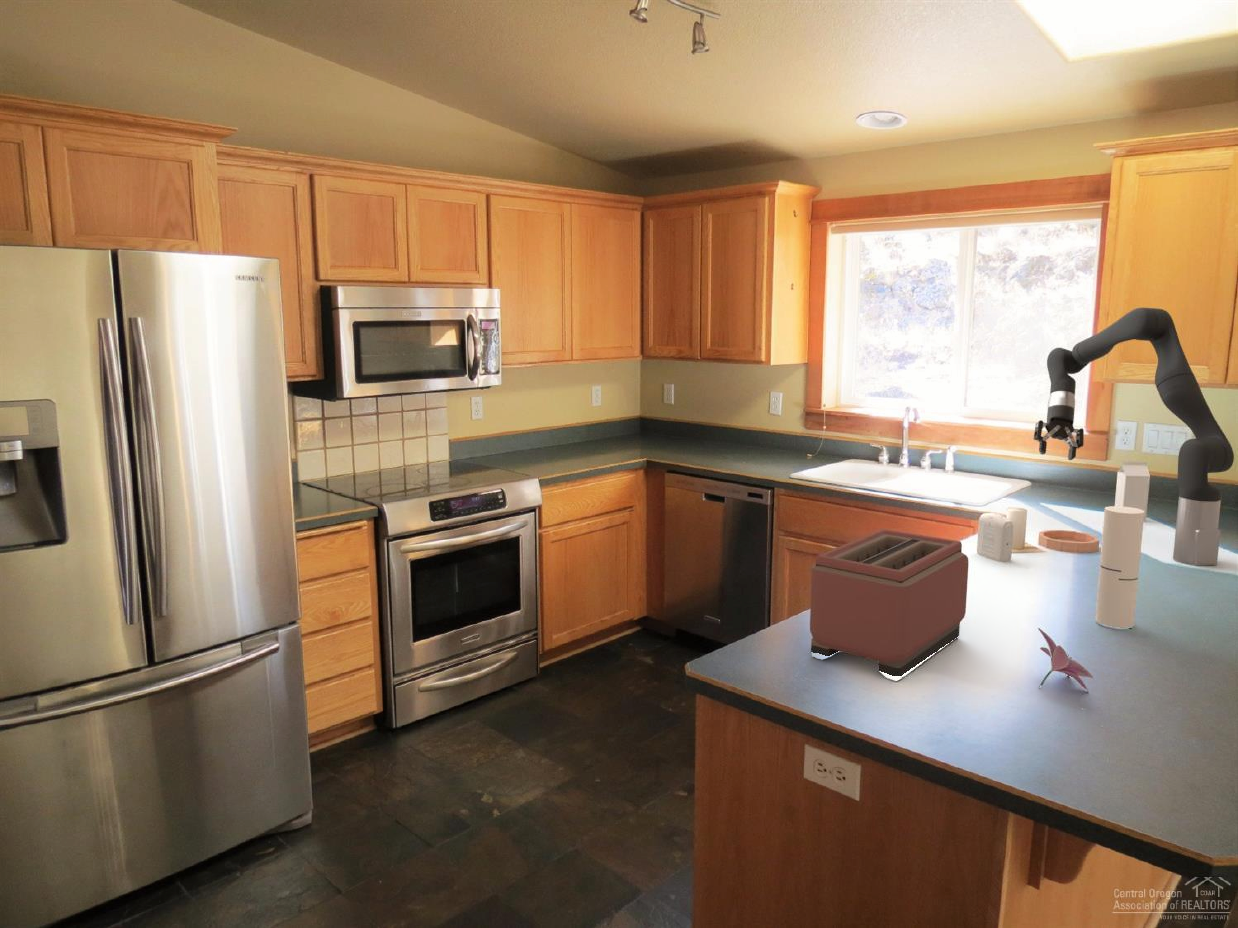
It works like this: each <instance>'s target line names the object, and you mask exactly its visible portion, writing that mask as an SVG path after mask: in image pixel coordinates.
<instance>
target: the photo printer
mask: <svg viewBox="0 0 1238 928" xmlns="http://www.w3.org/2000/svg"><path fill="white" fill-rule="evenodd" d="M977 527H978V528H977V529H978V530H977V531H978V532H977V542H976V544H977V546H976V553H977V554H978V555H980V556H982V557H986V558H988V559H990V558H991V560H993V561H997V562H1000V563H1007V562H1008V563H1009V562H1010V561H1011V560H1012V554H1013V553H1012V541H1013V523H1012V522H1011V521H1010V520H1009V519H1007V518H1006V516H1004V515H1001V514H999V513H995V512H988V513H987V512H986V513H982V514H981V515H980V516H979V519H978V526H977Z"/></svg>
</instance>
